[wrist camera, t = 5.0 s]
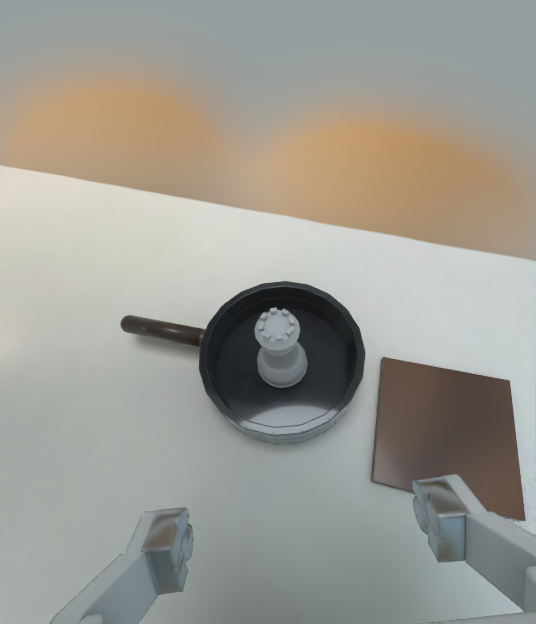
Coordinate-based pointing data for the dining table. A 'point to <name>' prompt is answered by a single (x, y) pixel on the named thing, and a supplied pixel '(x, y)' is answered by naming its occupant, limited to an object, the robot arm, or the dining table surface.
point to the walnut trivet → (448, 433)
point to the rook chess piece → (280, 349)
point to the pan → (289, 400)
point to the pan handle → (163, 330)
